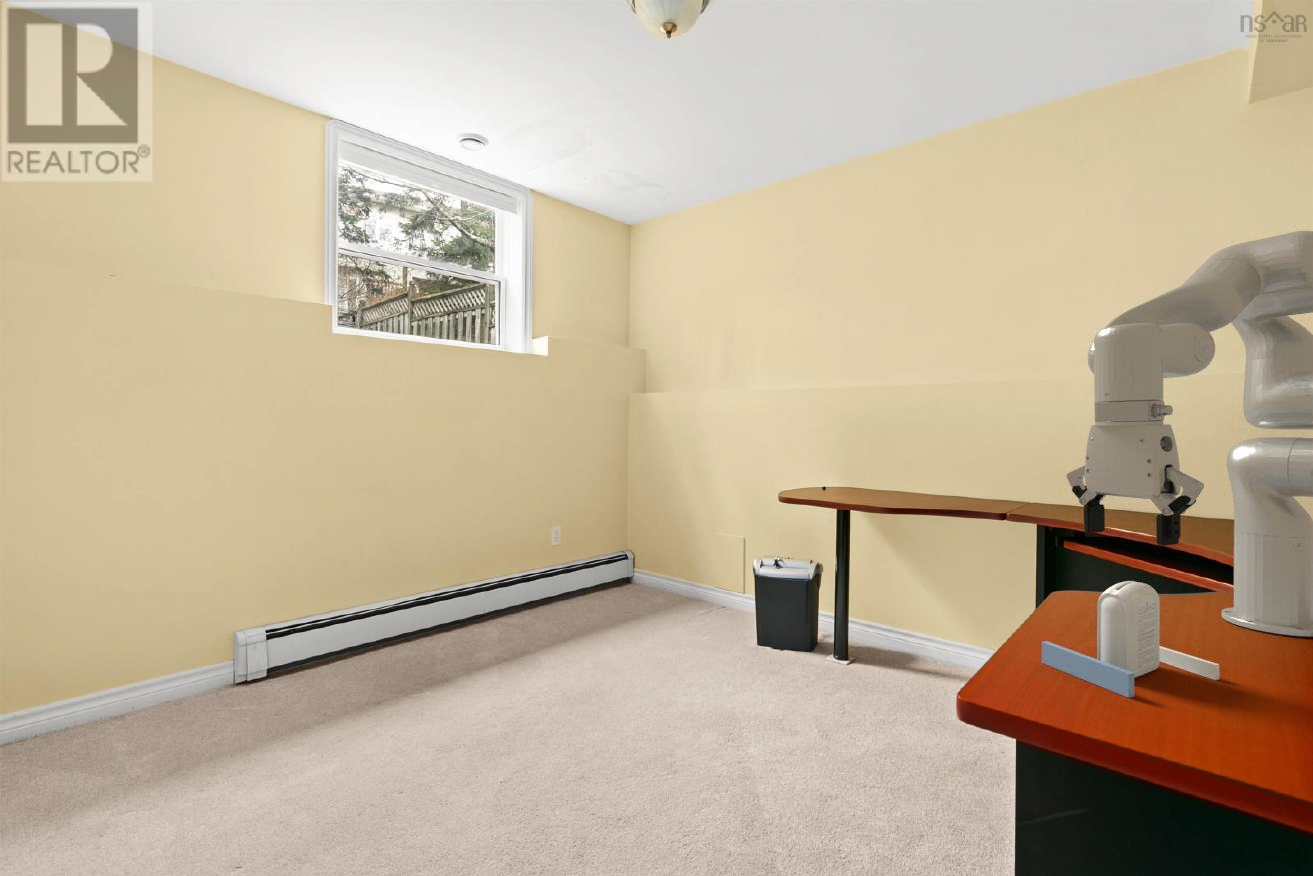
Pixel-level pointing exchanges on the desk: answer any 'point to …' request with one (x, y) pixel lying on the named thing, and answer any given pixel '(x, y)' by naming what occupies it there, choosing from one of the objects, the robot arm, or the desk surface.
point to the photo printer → (1129, 627)
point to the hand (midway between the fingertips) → (1129, 538)
